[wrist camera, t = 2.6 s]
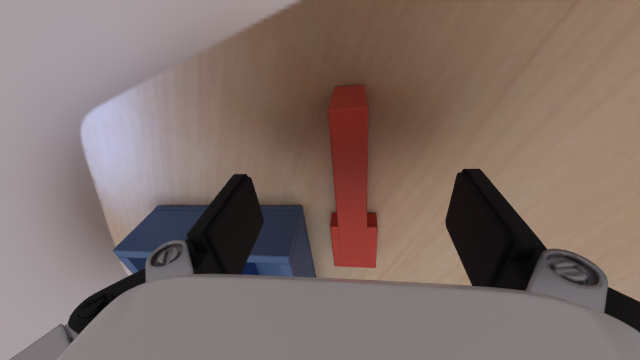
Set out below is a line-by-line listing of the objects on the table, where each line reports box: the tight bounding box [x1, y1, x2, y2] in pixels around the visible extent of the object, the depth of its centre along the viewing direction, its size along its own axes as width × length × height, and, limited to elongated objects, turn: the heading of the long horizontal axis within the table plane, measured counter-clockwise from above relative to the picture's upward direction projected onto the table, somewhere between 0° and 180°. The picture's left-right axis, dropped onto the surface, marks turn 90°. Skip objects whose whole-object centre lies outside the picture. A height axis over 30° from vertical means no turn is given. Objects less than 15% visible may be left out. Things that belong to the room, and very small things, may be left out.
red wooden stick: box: [328, 85, 378, 268], centre depth 16 cm, size 15×4×4 cm, turn 6°
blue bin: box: [113, 206, 316, 278], centre depth 24 cm, size 20×14×5 cm
